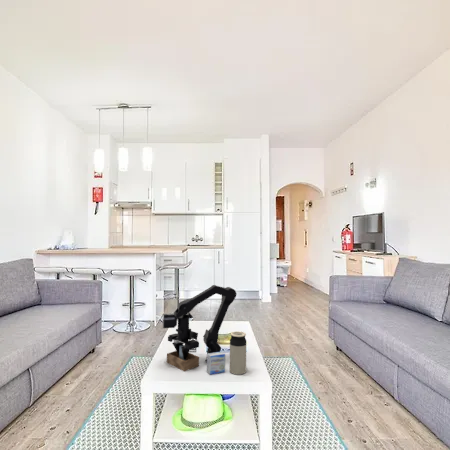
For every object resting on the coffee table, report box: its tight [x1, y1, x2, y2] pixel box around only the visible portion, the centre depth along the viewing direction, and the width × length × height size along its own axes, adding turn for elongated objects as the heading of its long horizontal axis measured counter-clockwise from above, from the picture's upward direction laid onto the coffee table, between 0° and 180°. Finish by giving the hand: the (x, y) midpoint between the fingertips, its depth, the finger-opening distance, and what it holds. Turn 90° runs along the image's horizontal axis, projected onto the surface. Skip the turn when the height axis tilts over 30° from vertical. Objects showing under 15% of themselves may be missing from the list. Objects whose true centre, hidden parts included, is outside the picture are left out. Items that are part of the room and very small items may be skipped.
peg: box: [179, 344, 186, 361], centre depth 158 cm, size 4×4×8 cm
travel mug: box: [229, 330, 247, 375], centre depth 151 cm, size 8×8×18 cm
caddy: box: [166, 350, 200, 372], centre depth 158 cm, size 15×9×4 cm, turn 46°
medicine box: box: [206, 351, 226, 376], centre depth 150 cm, size 8×4×9 cm, turn 113°
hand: (182, 358), depth 158 cm, fingers closed on peg, 3 cm apart
